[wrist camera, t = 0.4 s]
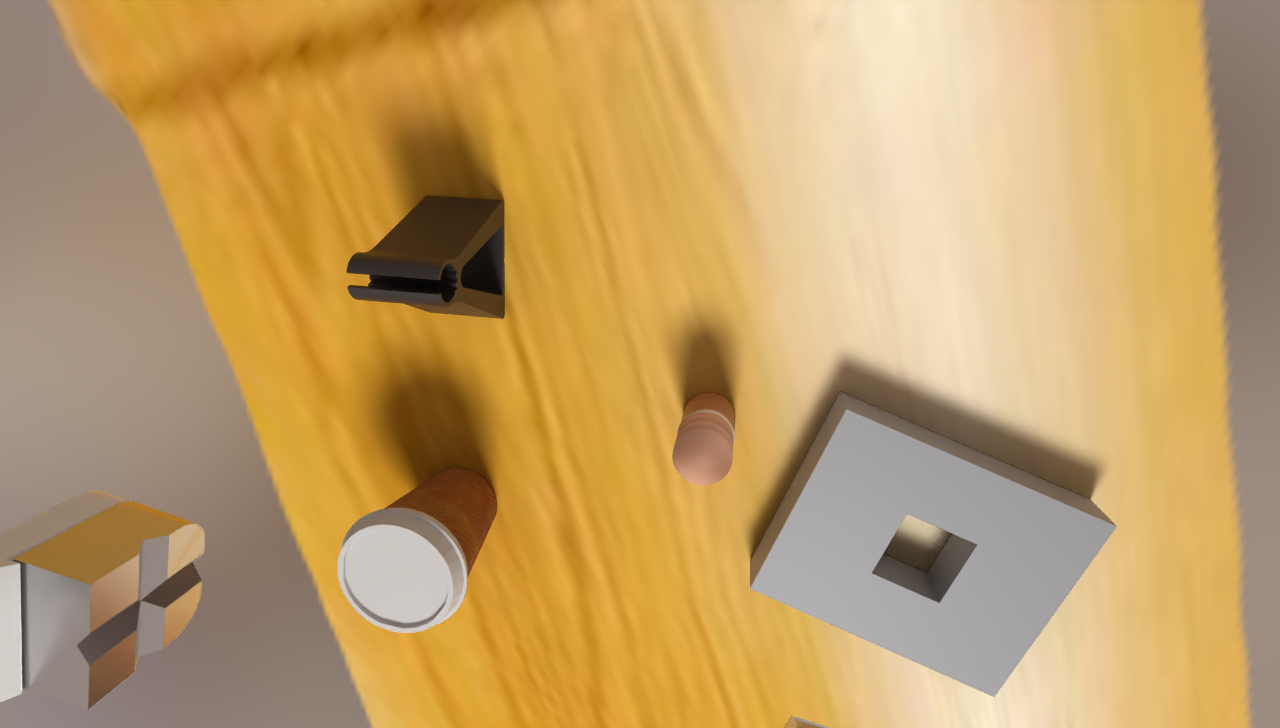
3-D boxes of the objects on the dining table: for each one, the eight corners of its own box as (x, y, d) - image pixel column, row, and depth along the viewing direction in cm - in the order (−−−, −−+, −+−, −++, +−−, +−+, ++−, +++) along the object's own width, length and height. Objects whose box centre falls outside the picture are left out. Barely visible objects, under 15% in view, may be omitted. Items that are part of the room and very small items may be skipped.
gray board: (840, 391, 53) (846, 409, 50) (1090, 499, 53) (1116, 526, 49) (750, 560, 58) (750, 588, 55) (978, 661, 58) (994, 697, 54)
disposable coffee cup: (527, 544, 61) (475, 633, 50) (426, 556, 63) (354, 643, 52) (499, 442, 59) (438, 510, 48) (395, 457, 61) (312, 526, 49)
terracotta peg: (695, 383, 55) (686, 419, 47) (744, 404, 55) (743, 444, 47) (674, 428, 56) (662, 470, 49) (722, 449, 56) (717, 495, 48)
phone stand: (504, 317, 56) (440, 358, 44) (431, 311, 57) (350, 349, 45) (505, 200, 53) (437, 211, 42) (428, 194, 54) (341, 204, 43)
